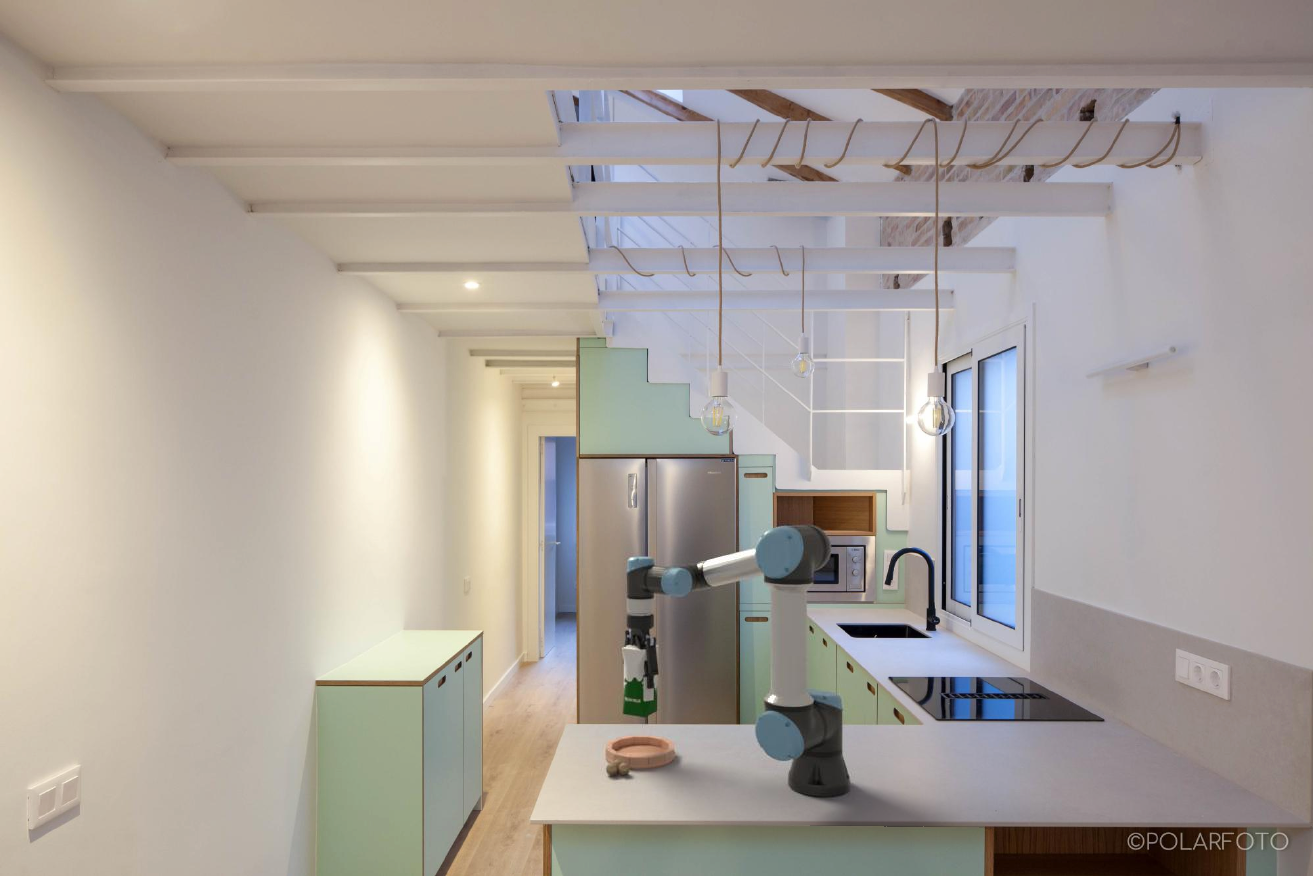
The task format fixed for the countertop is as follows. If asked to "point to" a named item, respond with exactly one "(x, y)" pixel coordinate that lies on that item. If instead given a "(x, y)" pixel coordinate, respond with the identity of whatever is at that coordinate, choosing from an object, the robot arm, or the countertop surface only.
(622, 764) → the bead pile
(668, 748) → the tray
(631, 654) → the soya milk
